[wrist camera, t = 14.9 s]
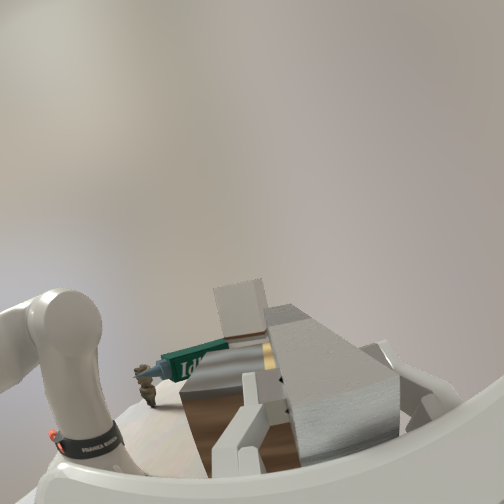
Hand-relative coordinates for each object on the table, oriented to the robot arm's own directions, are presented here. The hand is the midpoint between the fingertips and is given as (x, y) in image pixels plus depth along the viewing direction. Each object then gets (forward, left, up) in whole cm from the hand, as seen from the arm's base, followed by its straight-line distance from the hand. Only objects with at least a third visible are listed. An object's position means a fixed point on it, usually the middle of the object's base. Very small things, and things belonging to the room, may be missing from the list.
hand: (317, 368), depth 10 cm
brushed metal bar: (+6, +4, -2) cm, 7 cm away
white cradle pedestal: (+51, +46, -31) cm, 75 cm away
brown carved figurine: (+29, +74, -32) cm, 86 cm away
